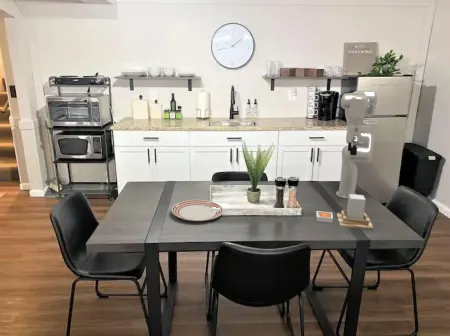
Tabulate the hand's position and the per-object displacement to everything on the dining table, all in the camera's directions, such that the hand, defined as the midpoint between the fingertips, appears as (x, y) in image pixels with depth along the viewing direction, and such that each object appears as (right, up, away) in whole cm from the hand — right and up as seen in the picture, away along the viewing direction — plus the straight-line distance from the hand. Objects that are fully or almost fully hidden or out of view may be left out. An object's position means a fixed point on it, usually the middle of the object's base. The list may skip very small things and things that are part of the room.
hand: (351, 153), depth 192 cm
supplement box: (0, -35, -5) cm, 35 cm away
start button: (-15, -34, -2) cm, 37 cm away
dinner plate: (-82, -33, +1) cm, 88 cm away
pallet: (-1, -36, -5) cm, 36 cm away
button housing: (-15, -35, -2) cm, 38 cm away
